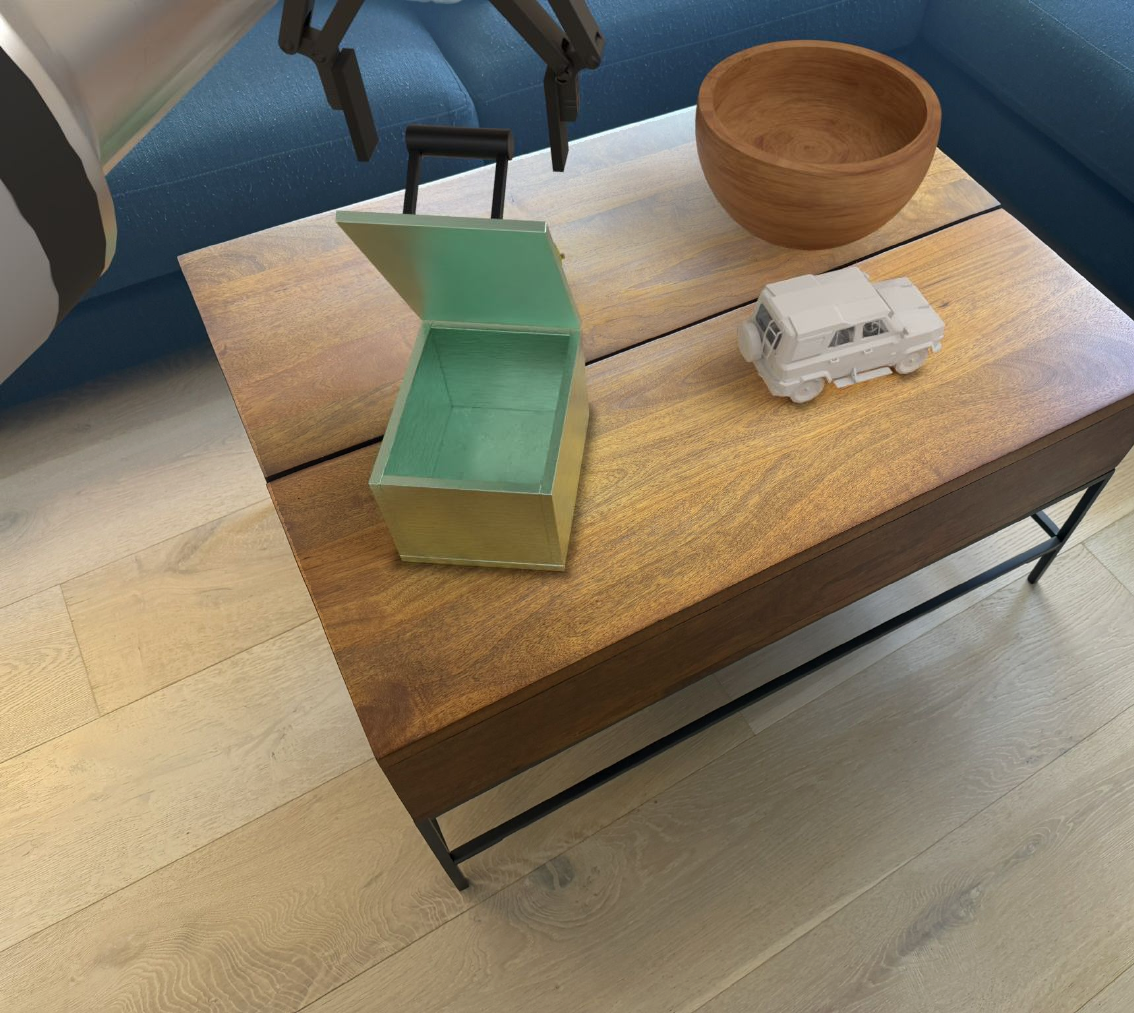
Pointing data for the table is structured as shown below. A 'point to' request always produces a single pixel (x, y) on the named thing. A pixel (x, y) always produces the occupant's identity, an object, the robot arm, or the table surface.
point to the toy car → (837, 331)
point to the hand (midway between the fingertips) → (464, 156)
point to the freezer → (485, 446)
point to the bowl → (814, 140)
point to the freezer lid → (466, 245)
